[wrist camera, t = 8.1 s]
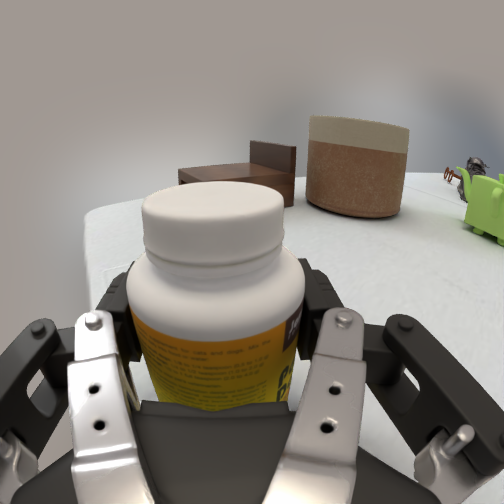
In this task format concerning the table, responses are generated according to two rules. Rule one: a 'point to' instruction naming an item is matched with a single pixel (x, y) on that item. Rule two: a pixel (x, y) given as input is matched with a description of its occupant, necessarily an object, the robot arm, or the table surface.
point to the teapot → (485, 204)
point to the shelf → (253, 170)
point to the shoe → (471, 173)
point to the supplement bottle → (216, 295)
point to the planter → (356, 166)
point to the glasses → (450, 174)
